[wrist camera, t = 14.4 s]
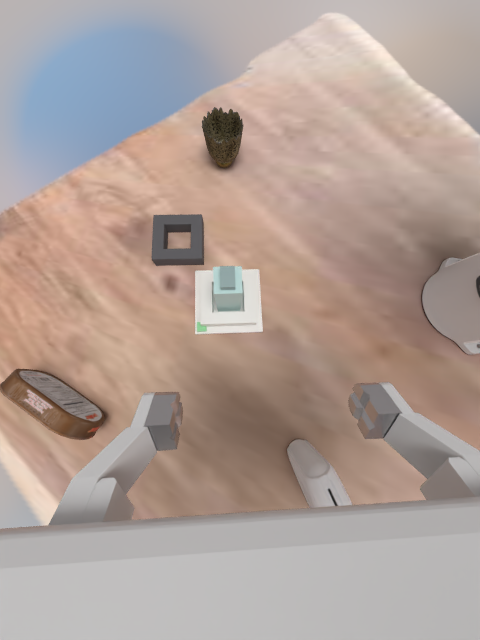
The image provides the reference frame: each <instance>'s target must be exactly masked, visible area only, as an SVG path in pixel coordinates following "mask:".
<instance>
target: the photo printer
mask: <svg viewBox="0 0 480 640" xmlns="http://www.w3.org/2000/svg"><path fill="white" fill-rule="evenodd" d="M287 453H288V457H289V460H290V462H291V465H292V468H293V470H294V473H295V475H296V477H297V480H298V482H299V485H300V487H301V489H302V492H303V494H304V496H305V498H306V501H307V503H308V505H309V506H310V508H315V507H329V506H344V505H352V503H351V500H350V498H349V496H348V494H347V492H346V490H345V488H344V486H343V484H342V482H341V480H340V478H339V476H338V475H337V473H336V471H335V470H334V468H333V467H332V466H331V464H330V463H329V462H328V461H327V460H326V459H325V458H324V457H323V456H322V455H321V454H320V453H319V452H318V451H317V450H316V449H315V448H314V447H313V446H312V445H311V444H310V443H309V442H308V441H307V440H301V439H297V440H294V441H293V442H291V443H290V445H289V447H288V448H287Z"/></svg>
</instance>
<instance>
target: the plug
mask: <svg viewBox="0 0 480 640" xmlns="http://www.w3.org/2000/svg"><path fill="white" fill-rule="evenodd" d="M213 281H214V297H215V301H216V305H217V309H218V312H220V311H240V309H241V302H242V294H243V289H242V266H237V267H235V266H220V267H213Z"/></svg>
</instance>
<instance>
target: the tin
mask: <svg viewBox="0 0 480 640" xmlns="http://www.w3.org/2000/svg"><path fill="white" fill-rule="evenodd" d="M0 391H1V393H2V394H3V395H4V396H5V397H7V398H8V399H9V400H11V401H12V402H13V403H15V404H16V405H17V406H19V407H20V408H21V409H23V410H24V411H25V412H27V413H28V414H29V415H31V416H32V417H33V418H35V419H36V420H37V421H39V422H40V423H41V424H42V425H44V426H45V427H46V428H48V429H49V430H51V431H52V432H54V433H57V434H59V435H61V436H64V437H67V438H71V439H77V440H85V439H89V438H92V437H93V436H94V435H95V433H96V431H97V430H98V428H99V427H100V426H101V424H102V423H103V421H104V414H103V412H102V411H101V410H100V408H98V407H97V406H96V405H95V404H93V403H92V402H91V401H89V400H88V399H87V398H85V397H84V396H83V395H81V394H80V393H78V392H77V391H76V390H74V389H73V388H71V387H70V386H69V385H67V384H66V383H64V382H63V381H61V380H60V379H58V378H56V377H54V376H52V375H50V374H48V373H45V372H42V371H38V370H29V369H16V370H15V371H14V372H13V373H12V374H11V375H10V376H9V377H8V378H7V379H6V380H5V381H4V382H2V383H1V384H0Z"/></svg>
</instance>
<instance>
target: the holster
mask: <svg viewBox="0 0 480 640" xmlns="http://www.w3.org/2000/svg"><path fill="white" fill-rule="evenodd" d="M168 232H191V249H167V244H168ZM152 261H153V262H154V263H155V265H156V266H159V265H204V226H203V218H202V215H154V218H153V240H152Z"/></svg>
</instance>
